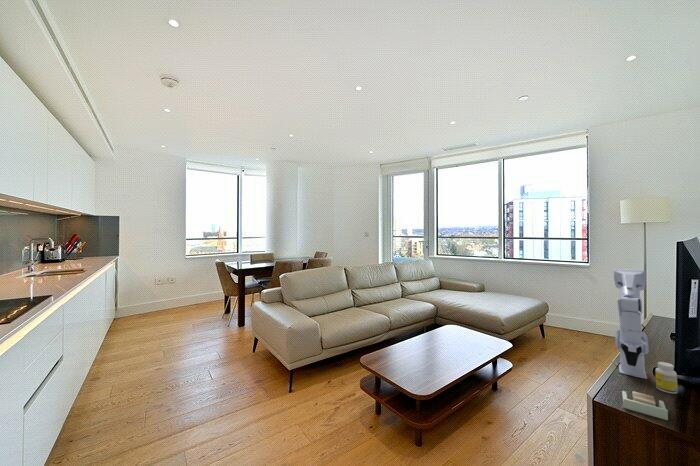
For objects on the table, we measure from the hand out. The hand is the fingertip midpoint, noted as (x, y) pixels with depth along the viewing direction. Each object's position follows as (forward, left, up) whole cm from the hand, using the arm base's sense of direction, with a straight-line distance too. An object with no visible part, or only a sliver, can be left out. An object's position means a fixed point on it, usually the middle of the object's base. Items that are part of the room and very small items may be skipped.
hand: (631, 365), depth 105 cm
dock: (+12, +2, -9) cm, 16 cm away
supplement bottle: (-8, +10, -10) cm, 16 cm away
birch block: (+13, +2, -10) cm, 16 cm away
